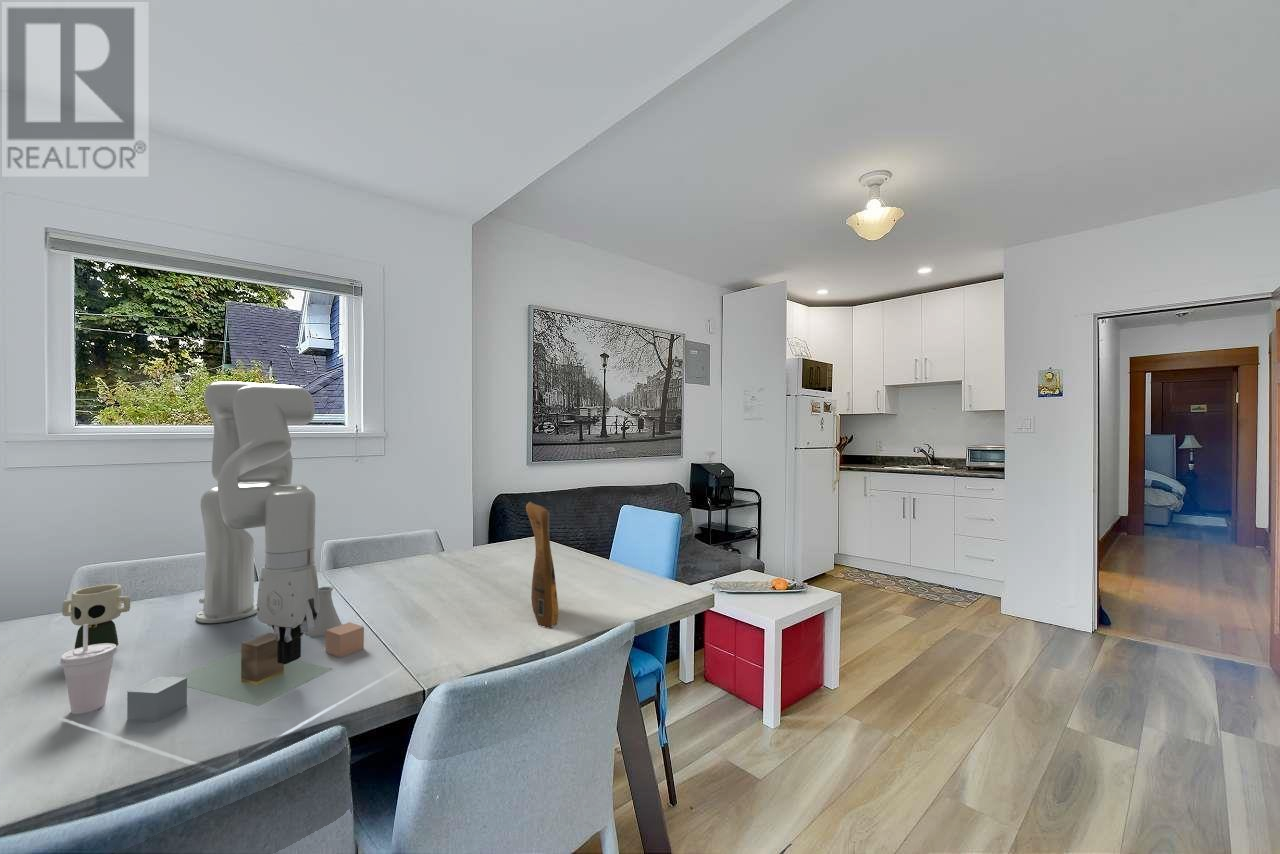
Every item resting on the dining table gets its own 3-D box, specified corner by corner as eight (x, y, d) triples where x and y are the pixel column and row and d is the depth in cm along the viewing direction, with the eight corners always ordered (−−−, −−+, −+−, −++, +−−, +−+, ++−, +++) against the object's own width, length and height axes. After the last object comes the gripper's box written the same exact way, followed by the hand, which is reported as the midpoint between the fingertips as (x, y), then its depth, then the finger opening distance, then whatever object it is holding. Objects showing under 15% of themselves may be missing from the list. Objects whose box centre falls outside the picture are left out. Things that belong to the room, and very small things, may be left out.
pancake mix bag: (533, 633, 119) (534, 510, 119) (524, 605, 137) (525, 499, 137) (562, 630, 121) (564, 509, 121) (549, 603, 139) (551, 498, 139)
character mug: (48, 664, 101) (48, 597, 101) (75, 648, 108) (76, 586, 108) (118, 657, 104) (118, 592, 104) (140, 643, 111) (141, 582, 111)
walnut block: (241, 681, 95) (241, 642, 95) (268, 669, 99) (269, 632, 99) (256, 685, 93) (257, 646, 93) (283, 673, 98) (284, 635, 98)
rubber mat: (165, 682, 95) (165, 680, 95) (245, 651, 108) (245, 649, 108) (258, 707, 87) (258, 705, 87) (333, 670, 100) (333, 668, 100)
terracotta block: (325, 654, 107) (325, 630, 107) (349, 645, 112) (349, 622, 112) (340, 660, 105) (340, 635, 105) (363, 650, 109) (364, 626, 109)
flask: (325, 640, 114) (325, 594, 114) (296, 637, 115) (297, 592, 115) (349, 628, 121) (350, 584, 121) (322, 625, 122) (323, 582, 122)
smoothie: (86, 700, 88) (87, 617, 88) (127, 699, 89) (127, 616, 89) (46, 721, 82) (47, 632, 82) (90, 720, 83) (91, 631, 83)
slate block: (127, 723, 82) (127, 691, 82) (158, 706, 87) (158, 676, 87) (156, 725, 82) (157, 693, 82) (186, 707, 87) (187, 677, 87)
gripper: (239, 559, 93) (238, 662, 93) (301, 568, 88) (300, 677, 88) (280, 550, 100) (279, 646, 100) (339, 557, 95) (338, 658, 95)
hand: (289, 660), depth 94 cm, fingers closed
